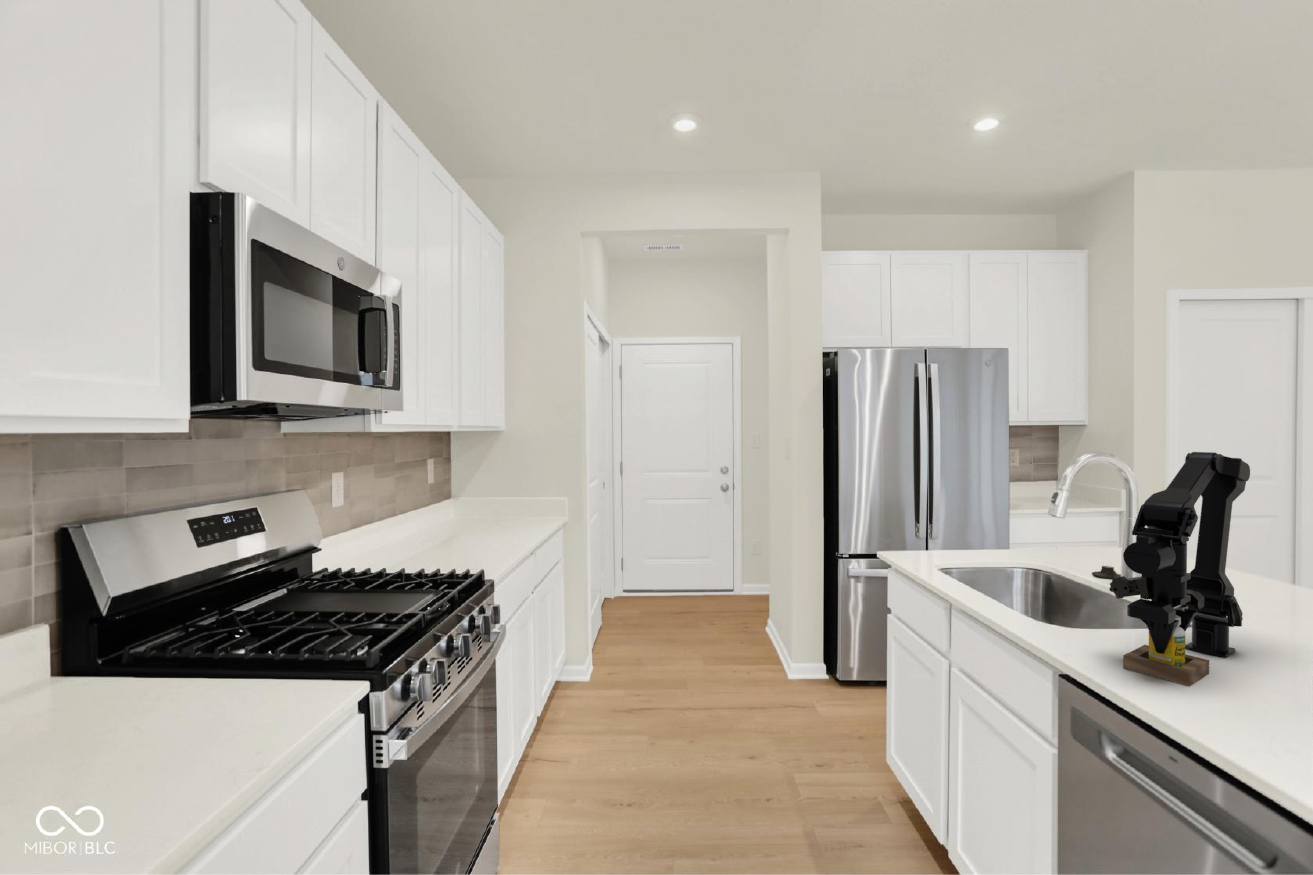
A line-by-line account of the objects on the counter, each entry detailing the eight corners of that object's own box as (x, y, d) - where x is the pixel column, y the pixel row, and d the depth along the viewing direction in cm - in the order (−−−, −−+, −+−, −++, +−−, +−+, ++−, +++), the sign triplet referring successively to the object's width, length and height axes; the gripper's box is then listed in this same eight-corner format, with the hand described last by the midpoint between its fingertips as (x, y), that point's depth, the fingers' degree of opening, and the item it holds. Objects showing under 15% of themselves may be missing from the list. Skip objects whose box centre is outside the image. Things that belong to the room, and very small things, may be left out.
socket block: (1144, 657, 126) (1144, 644, 126) (1209, 673, 118) (1209, 659, 118) (1123, 668, 121) (1123, 655, 121) (1189, 686, 112) (1189, 672, 112)
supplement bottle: (1155, 658, 123) (1155, 609, 123) (1189, 667, 118) (1190, 616, 118) (1143, 664, 120) (1143, 614, 120) (1178, 674, 116) (1179, 621, 115)
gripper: (1136, 553, 131) (1136, 628, 131) (1095, 565, 120) (1095, 647, 121) (1205, 563, 121) (1204, 644, 122) (1167, 577, 111) (1166, 666, 111)
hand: (1166, 649), depth 119 cm, fingers closed on supplement bottle, 5 cm apart
